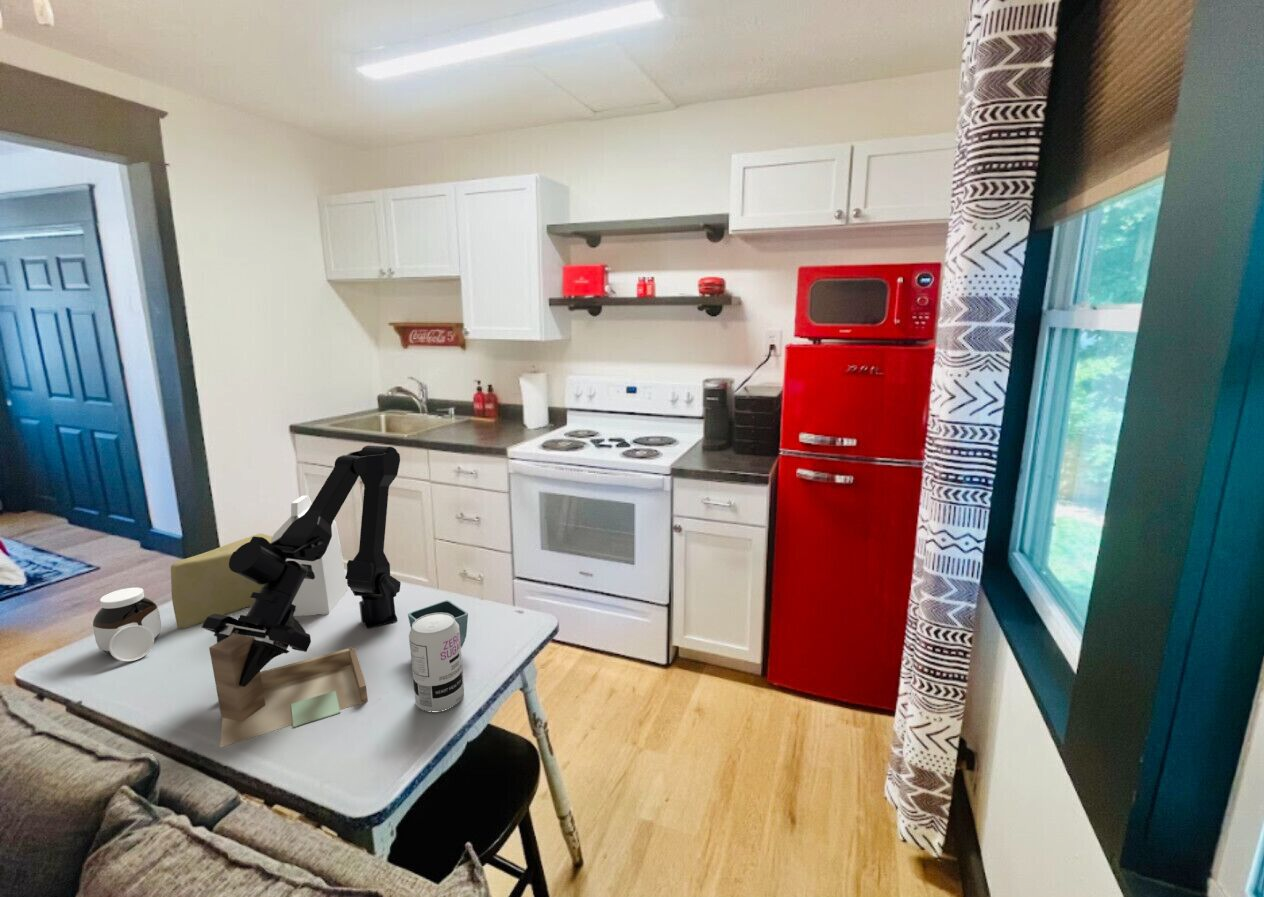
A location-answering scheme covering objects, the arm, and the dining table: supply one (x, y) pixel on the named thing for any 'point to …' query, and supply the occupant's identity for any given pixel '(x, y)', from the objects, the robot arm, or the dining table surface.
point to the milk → (318, 570)
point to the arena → (302, 695)
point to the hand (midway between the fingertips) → (230, 683)
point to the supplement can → (436, 662)
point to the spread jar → (126, 624)
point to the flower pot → (444, 607)
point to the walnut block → (235, 678)
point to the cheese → (210, 585)
